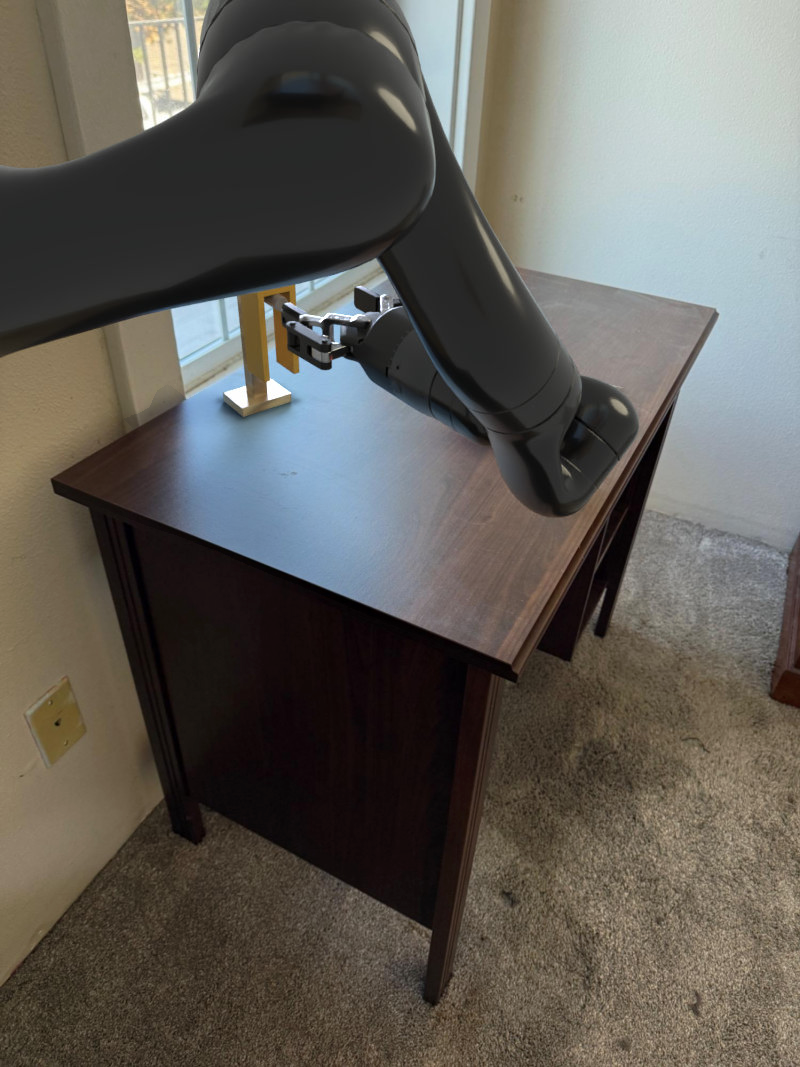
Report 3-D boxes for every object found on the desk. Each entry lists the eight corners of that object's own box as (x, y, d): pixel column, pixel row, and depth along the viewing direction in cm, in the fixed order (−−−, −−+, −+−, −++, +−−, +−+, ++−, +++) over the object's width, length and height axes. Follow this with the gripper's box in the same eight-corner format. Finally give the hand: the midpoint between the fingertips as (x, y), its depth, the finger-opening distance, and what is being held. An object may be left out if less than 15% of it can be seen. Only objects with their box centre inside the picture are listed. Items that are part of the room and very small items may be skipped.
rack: (264, 434, 89) (251, 285, 77) (223, 401, 95) (206, 257, 83) (313, 417, 92) (307, 272, 81) (271, 386, 98) (260, 247, 87)
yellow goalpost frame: (264, 383, 86) (256, 289, 79) (247, 370, 88) (238, 278, 82) (299, 372, 89) (295, 280, 82) (281, 360, 91) (276, 270, 84)
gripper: (489, 306, 66) (379, 253, 76) (360, 342, 59) (256, 280, 69) (480, 382, 71) (377, 324, 80) (359, 425, 64) (262, 355, 73)
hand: (321, 304), depth 74 cm, fingers open, 8 cm apart
